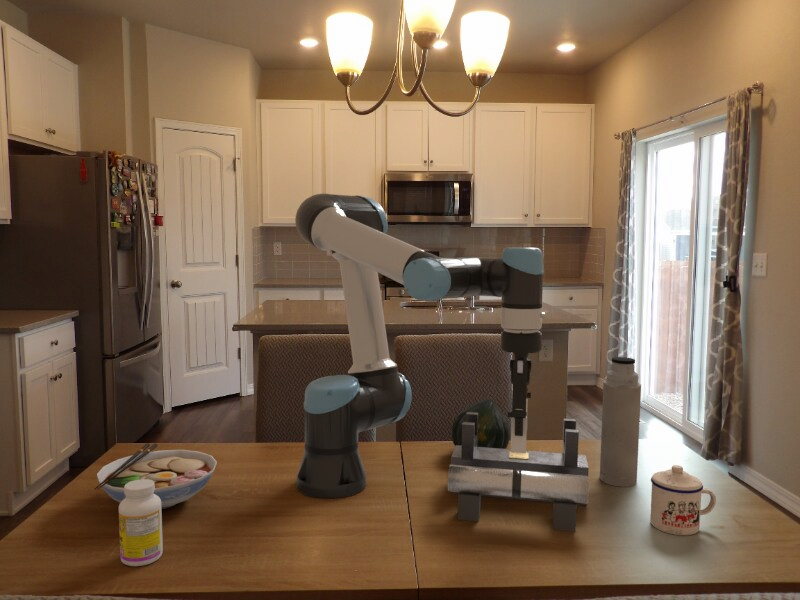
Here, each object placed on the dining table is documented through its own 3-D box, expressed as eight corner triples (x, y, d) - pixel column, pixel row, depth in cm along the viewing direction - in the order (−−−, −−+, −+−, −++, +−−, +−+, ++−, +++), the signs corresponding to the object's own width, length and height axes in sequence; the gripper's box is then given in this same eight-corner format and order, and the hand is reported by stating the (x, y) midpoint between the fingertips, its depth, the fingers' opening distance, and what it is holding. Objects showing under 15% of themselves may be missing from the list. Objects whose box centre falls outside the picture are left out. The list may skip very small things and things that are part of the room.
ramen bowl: (191, 532, 117) (190, 489, 116) (69, 528, 118) (68, 485, 118) (234, 481, 142) (233, 445, 141) (133, 478, 143) (132, 442, 143)
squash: (433, 437, 158) (473, 396, 154) (451, 423, 172) (489, 385, 167) (473, 481, 155) (516, 440, 150) (489, 464, 168) (529, 426, 164)
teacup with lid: (659, 536, 118) (662, 474, 117) (641, 515, 127) (644, 458, 126) (725, 537, 118) (729, 475, 117) (702, 516, 127) (706, 458, 126)
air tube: (447, 496, 123) (447, 471, 122) (450, 483, 128) (450, 460, 127) (587, 509, 118) (589, 483, 117) (585, 495, 123) (587, 470, 122)
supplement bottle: (128, 549, 111) (125, 476, 110) (167, 548, 111) (165, 476, 110) (114, 568, 104) (111, 492, 103) (156, 567, 105) (154, 491, 104)
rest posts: (457, 519, 124) (458, 494, 123) (460, 511, 128) (460, 486, 127) (575, 531, 119) (576, 505, 119) (574, 522, 123) (575, 497, 123)
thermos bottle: (596, 473, 150) (601, 354, 147) (631, 474, 149) (636, 355, 146) (603, 485, 142) (608, 360, 139) (640, 487, 141) (646, 361, 139)
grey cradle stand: (449, 495, 136) (451, 423, 134) (455, 478, 145) (456, 411, 144) (587, 507, 130) (590, 433, 129) (583, 489, 140) (586, 419, 138)
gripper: (542, 340, 107) (540, 464, 109) (541, 322, 132) (539, 424, 133) (497, 338, 109) (495, 461, 111) (504, 321, 133) (502, 422, 135)
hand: (519, 441), depth 122 cm, fingers open, 13 cm apart
